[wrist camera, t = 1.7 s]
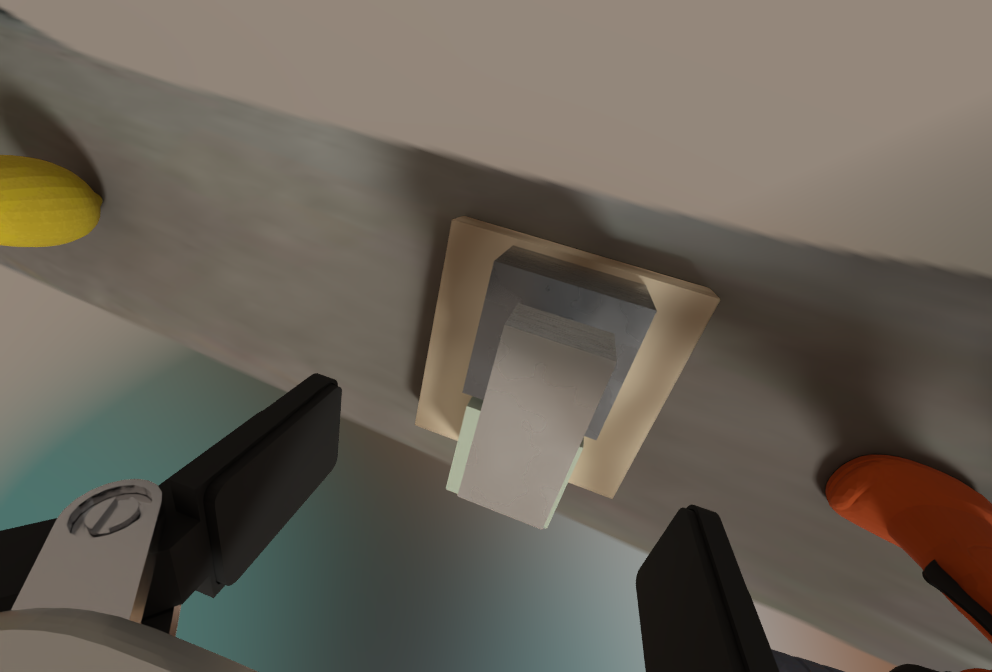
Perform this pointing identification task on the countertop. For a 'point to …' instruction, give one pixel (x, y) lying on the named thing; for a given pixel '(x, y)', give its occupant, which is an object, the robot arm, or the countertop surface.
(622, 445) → the board
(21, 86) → the countertop surface
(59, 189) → the lemon
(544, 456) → the light grey block
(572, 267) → the block
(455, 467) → the pale green hollow frame
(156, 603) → the robot arm
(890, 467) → the toy drill
